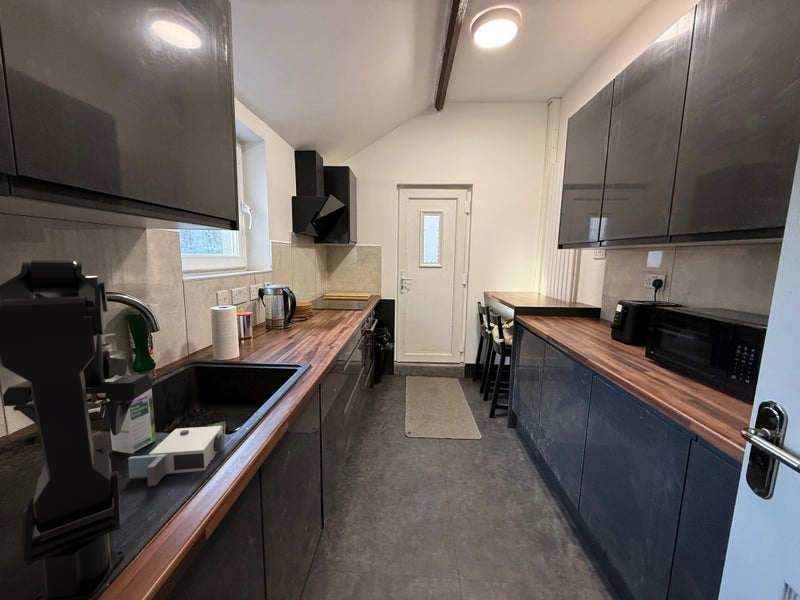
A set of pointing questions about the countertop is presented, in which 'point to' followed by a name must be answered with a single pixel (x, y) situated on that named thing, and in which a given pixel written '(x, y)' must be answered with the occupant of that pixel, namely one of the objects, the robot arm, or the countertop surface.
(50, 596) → the robot arm
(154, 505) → the countertop surface
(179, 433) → the camera housing
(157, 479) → the grey l-shaped block
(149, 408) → the syrup box
